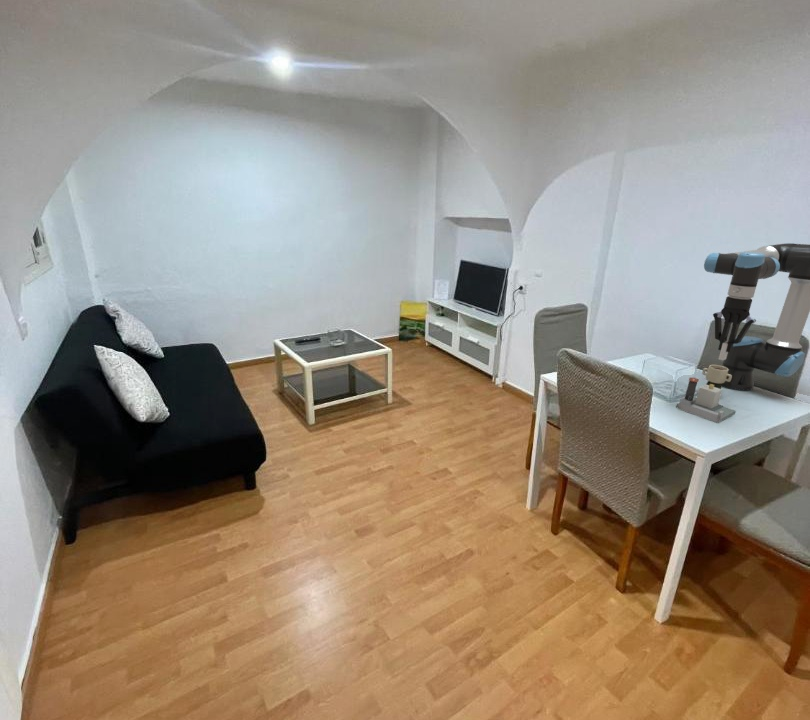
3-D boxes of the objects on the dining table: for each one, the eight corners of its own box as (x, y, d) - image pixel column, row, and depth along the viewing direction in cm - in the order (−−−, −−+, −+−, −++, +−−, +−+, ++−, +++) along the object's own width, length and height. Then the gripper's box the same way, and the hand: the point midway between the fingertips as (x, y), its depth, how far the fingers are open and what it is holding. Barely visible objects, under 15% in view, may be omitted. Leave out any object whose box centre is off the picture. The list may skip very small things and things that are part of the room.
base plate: (692, 399, 185) (694, 390, 184) (734, 414, 173) (737, 404, 171) (675, 407, 177) (677, 397, 176) (718, 423, 165) (721, 413, 163)
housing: (702, 399, 181) (707, 380, 178) (718, 405, 176) (723, 385, 173) (695, 403, 178) (700, 383, 175) (711, 408, 173) (716, 388, 170)
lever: (685, 400, 176) (691, 376, 173) (693, 403, 174) (700, 379, 170) (681, 402, 174) (687, 378, 171) (689, 405, 172) (696, 381, 168)
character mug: (728, 397, 188) (736, 369, 184) (721, 401, 184) (730, 372, 180) (700, 388, 196) (708, 362, 192) (694, 392, 193) (701, 365, 188)
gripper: (714, 295, 156) (698, 356, 164) (757, 301, 146) (737, 366, 154) (723, 293, 160) (707, 352, 168) (765, 299, 150) (746, 362, 158)
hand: (722, 359), depth 161 cm, fingers closed
